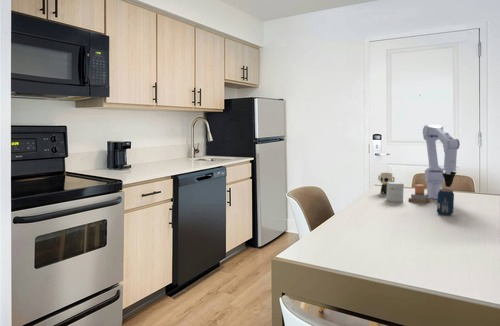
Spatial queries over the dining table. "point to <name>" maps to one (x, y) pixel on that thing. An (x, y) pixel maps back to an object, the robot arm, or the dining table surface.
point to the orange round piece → (419, 189)
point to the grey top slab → (419, 196)
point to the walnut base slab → (420, 200)
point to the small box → (395, 191)
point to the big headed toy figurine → (385, 181)
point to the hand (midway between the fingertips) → (448, 185)
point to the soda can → (445, 202)
